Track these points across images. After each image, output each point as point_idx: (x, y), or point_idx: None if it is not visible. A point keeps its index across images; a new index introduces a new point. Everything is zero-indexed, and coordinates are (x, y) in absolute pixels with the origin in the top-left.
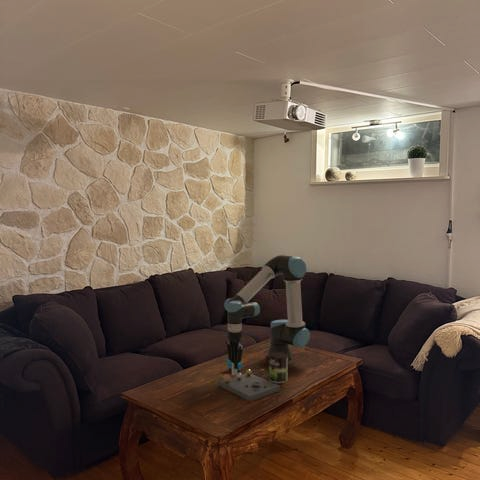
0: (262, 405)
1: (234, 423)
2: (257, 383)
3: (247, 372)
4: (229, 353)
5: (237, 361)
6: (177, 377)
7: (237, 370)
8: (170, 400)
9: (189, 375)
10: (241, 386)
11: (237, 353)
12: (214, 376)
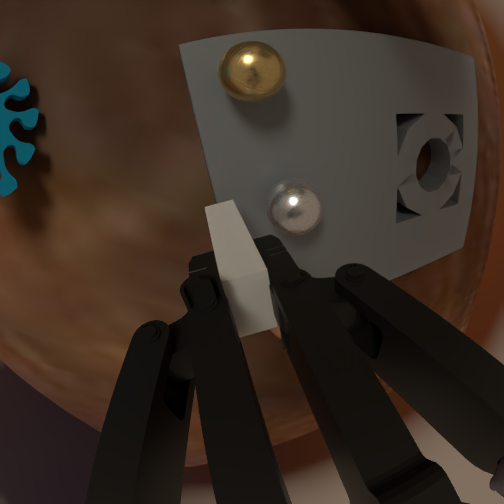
0: (480, 212)
1: (463, 314)
2: (412, 124)
3: (270, 96)
4: (184, 452)
5: (371, 325)
6: (82, 405)
7: (31, 109)
8: (272, 428)
9: (60, 375)
10: (388, 239)
11: (438, 420)
12: (78, 291)
